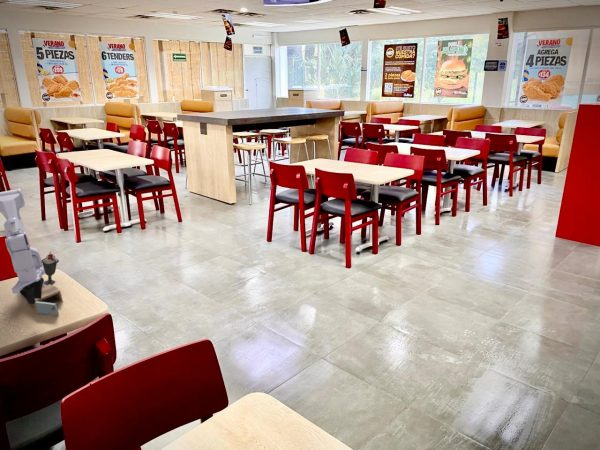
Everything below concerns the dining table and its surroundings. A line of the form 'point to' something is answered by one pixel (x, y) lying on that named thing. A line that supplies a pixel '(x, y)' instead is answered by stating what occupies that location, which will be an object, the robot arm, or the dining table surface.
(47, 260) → the sundae
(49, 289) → the cabinet
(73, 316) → the dining table surface
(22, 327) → the dining table surface
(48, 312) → the door
